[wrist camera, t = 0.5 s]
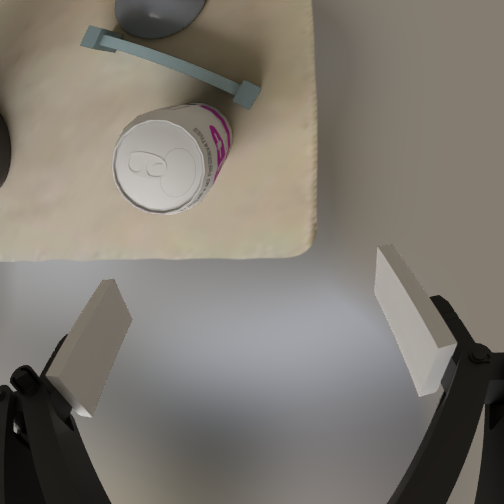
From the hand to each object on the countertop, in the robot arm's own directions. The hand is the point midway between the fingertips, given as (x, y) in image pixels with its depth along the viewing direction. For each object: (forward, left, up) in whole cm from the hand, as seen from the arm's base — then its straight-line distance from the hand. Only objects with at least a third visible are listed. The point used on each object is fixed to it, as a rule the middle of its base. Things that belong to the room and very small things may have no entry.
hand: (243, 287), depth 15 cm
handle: (-14, +7, -23) cm, 28 cm away
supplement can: (-8, 0, -24) cm, 25 cm away
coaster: (-20, +14, -23) cm, 34 cm away
